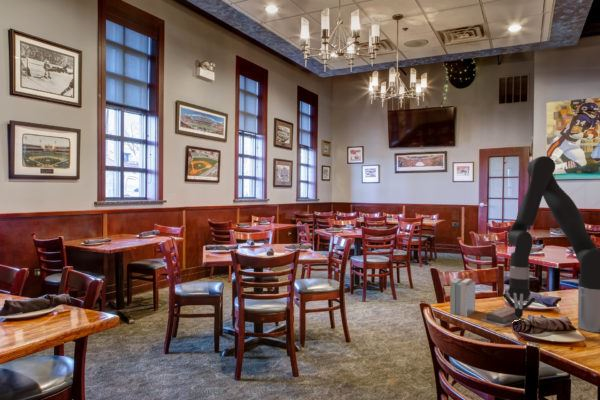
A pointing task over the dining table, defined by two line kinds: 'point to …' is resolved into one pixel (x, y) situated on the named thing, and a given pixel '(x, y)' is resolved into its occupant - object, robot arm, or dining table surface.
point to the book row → (458, 296)
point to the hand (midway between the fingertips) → (518, 317)
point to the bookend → (469, 299)
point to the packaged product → (501, 317)
